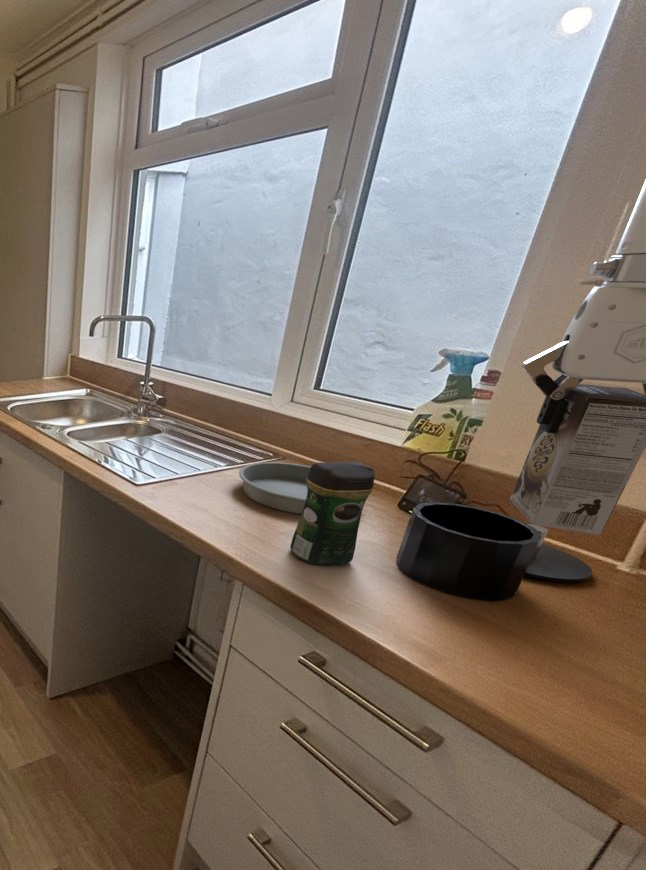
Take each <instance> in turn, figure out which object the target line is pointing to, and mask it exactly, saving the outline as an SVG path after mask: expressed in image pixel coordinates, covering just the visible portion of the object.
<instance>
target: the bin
mask: <svg viewBox="0 0 646 870" xmlns="http://www.w3.org/2000/svg"><path fill="white" fill-rule="evenodd" d="M528 524H529V523H525V522H524V521H522V520H520V519H517V518H514V517H511V516H509V515H506V514H503V513H501V512H498V511H493V510H488V509H485V508H481V507H477V506H472V505H466V504H459V503H453V502H451V503H450V502H434V501H433V502H425V503H418V504H417V505H416V506H415V507H413V508H412V511H411V514H410V517H409V520H408V523H407V526H406V527H405V530H404V534H403V536H402V539H401V543H400V546H399V549H398V552H397V554H396V566H397V567H398V569H399V570H400V571H401V572H402V573H403V574H404V575H406V576H407V577H409V578H410V579H412V580H414V581H416V582H417V583H419V584H421V585H423V586H425V587H428V588H430V589H433V590H436V591H438V592H440V593H444V594H448V595H451V596H455V597H458V598H463V599H468V600H472V601H481V602H504V601H508V600H511V599H513V598H514V597H515V595H516V593H517V592H518V590H519V588H520V586H521V584H522V582H523V579H524V577H525V576H526V575H525V573H526V571H527V569H528V566H529V564H530V562H531V560H532V558H533V555H534V553H535V551H536V549H537V547H538V544H539V542H540V540H541V538H542V536H541V535H540V533H539V532H538V531H537V530H536V529H535V528H533V527H531V526H529V525H528Z"/></svg>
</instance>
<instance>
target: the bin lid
mask: <svg viewBox="0 0 646 870" xmlns="http://www.w3.org/2000/svg"><path fill="white" fill-rule="evenodd" d="M527 524H528V525H529V526H531V527H533V528H535V529H536V530H537V531H538V532H539V533H540V535H541V536H542V538H541V540H540V542H539V544H538V547H537V549H536V551H535V553H534V555H533V558H532V560H531V562H530V564H529V566H528V569H527V571H526V573H525V575H524V576H526V577H531V578H535V579H540V580H545V581H552V582H559V583H560V582H561V583H579V582H584V581H587V580H589V579H590V578H591V577H592V575H593V570H592V568H591V567H590V565H588V564H587V563H586V562H585V561H583V560H582V559H580V558H578V557H577V556H574V555H572V554H570V553H568V552H566V551H564V550H561V549H559V548H556V547H552V546H550V545H547V544H544V541H545V539H546V537H547V534H548V532H549V529H548V528H547V527H543V526H537V525H532V524H531V523H527Z"/></svg>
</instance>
